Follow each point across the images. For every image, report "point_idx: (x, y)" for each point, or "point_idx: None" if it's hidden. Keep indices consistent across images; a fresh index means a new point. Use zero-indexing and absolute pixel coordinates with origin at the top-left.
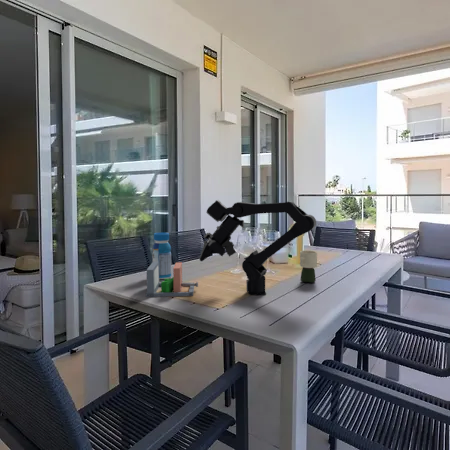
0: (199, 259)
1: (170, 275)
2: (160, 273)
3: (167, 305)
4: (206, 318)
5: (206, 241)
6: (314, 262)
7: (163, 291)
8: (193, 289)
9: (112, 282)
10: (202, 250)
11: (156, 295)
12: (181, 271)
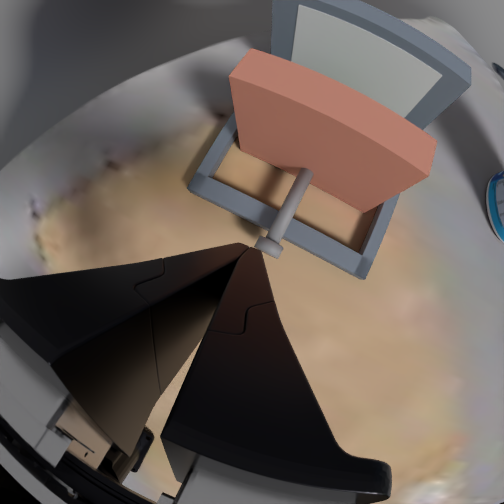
0: (256, 249)
1: (500, 232)
2: (501, 182)
3: (145, 83)
4: (14, 160)
5: (358, 502)
6: None
7: None
8: (255, 222)
9: (471, 64)
10: (235, 292)
11: None
12: (356, 163)
